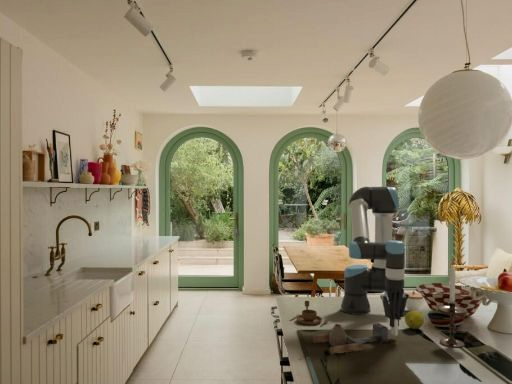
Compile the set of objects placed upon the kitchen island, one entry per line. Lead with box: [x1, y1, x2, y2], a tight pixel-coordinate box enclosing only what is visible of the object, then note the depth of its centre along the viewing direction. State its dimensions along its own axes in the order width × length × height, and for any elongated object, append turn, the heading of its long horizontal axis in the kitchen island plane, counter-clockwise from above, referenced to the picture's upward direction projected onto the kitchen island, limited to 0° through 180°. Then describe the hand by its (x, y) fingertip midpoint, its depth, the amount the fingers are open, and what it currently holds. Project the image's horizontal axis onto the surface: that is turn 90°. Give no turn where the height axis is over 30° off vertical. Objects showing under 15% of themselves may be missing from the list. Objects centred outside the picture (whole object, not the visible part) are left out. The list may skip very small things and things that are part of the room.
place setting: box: [289, 300, 329, 328], centre depth 205 cm, size 18×20×6 cm
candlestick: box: [437, 258, 468, 349], centre depth 171 cm, size 11×11×35 cm
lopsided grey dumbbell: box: [346, 322, 389, 344], centre depth 172 cm, size 16×9×6 cm, turn 110°
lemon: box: [404, 310, 425, 330], centre depth 190 cm, size 11×8×8 cm
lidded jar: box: [404, 290, 425, 312], centre depth 221 cm, size 11×11×9 cm
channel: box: [312, 332, 364, 355], centre depth 168 cm, size 14×14×3 cm
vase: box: [328, 323, 347, 347], centre depth 168 cm, size 7×7×9 cm
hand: (394, 334), depth 177 cm, fingers closed
